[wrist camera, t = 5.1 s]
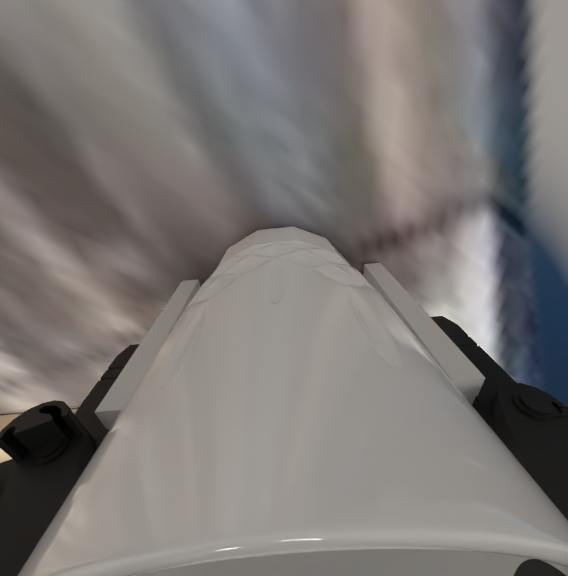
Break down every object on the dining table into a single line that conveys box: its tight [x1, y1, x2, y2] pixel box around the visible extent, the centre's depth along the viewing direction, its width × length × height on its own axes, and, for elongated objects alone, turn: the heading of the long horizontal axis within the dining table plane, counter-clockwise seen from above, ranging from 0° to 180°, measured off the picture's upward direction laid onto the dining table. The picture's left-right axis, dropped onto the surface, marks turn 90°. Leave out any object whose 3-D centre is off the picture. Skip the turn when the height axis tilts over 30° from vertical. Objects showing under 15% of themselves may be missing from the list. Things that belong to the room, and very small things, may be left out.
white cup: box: [17, 226, 568, 576], centre depth 8 cm, size 8×8×10 cm
